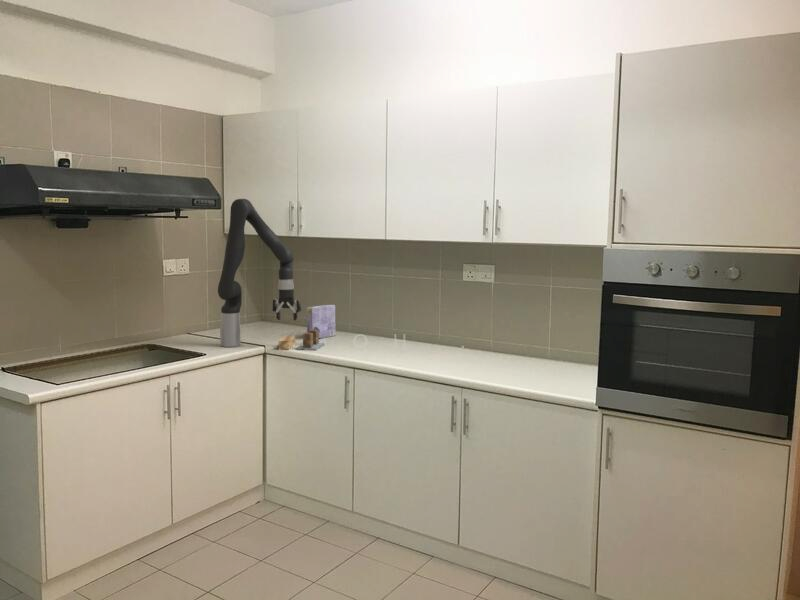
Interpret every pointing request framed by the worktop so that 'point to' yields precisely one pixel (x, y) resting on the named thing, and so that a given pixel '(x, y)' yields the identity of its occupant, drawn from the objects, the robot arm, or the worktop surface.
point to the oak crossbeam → (286, 342)
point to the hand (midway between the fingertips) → (287, 320)
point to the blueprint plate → (312, 347)
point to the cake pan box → (321, 320)
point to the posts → (310, 338)
